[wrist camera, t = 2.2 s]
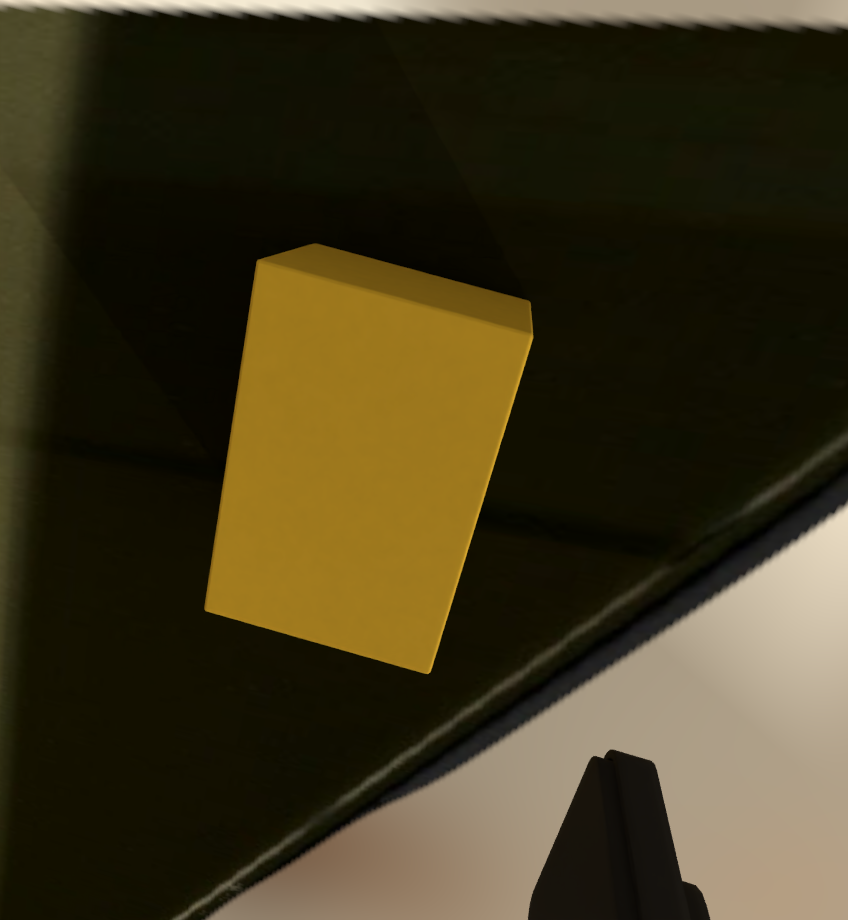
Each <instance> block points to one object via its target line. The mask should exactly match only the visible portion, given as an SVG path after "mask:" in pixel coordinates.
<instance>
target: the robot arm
mask: <svg viewBox="0 0 848 920" xmlns="http://www.w3.org/2000/svg"><path fill="white" fill-rule="evenodd" d="M528 920H710V917H709V913H708V909H707V905H706V903H705V900H704V897H703V894H702V892H701V891H700V890H699V889H698V888H697V886H696V885H693V884H690V883H687V882H684V881H682V878H681V874H680V870H679V865H678V861H677V857H676V852H675V848H674V843H673V839H672V835H671V830H670V826H669V822H668V817H667V813H666V808H665V804H664V800H663V795H662V791H661V787H660V782H659V778H658V774H657V770H656V767H655V764H654V763H653V762H652V761H650V760H646V759H643V758H639V757H636V756H633V755H629V754H626V753H623V752H619V751H616V750H609V751H608V752H607V753H606V755H605V757H604V759H603V758H600V757H597V756H593V757H592V758H591V759H590V761H589V763H588V765H587V768H586V770H585V772H584V775H583V777H582V779H581V782H580V784H579V786H578V788H577V791H576V793H575V795H574V798H573V800H572V803H571V805H570V807H569V809H568V812H567V815H566V817H565V819H564V821H563V823H562V826H561V828H560V831H559V833H558V835H557V837H556V840H555V842H554V844H553V847H552V849H551V851H550V854H549V856H548V858H547V861H546V863H545V865H544V868H543V870H542V872H541V875H540V877H539V879H538V882H537V884H536V886H535V889H534V891H533V894H532V898H531V902H530V908H529V915H528Z"/></svg>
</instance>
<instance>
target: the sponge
mask: <svg viewBox="0 0 848 920" xmlns="http://www.w3.org/2000/svg"><path fill="white" fill-rule="evenodd" d="M532 340H533V329H532V317H531V304H530V302H529V301H528V300H524V299H520V298H516V297H513V296H509V295H505V294H502V293H498V292H494V291H491V290H487V289H483V288H479V287H476V286H472V285H468V284H465V283H461V282H457V281H453V280H450V279H446V278H442V277H439V276H435V275H431V274H428V273H424V272H420V271H416V270H413V269H409V268H405V267H402V266H398V265H394V264H390V263H387V262H383V261H379V260H376V259H372V258H368V257H365V256H361V255H357V254H353V253H350V252H346V251H342V250H339V249H335V248H331V247H328V246H324V245H320V244H316V243H314V244H310V245H307V246H304V247H300V248H297V249H293V250H290V251H287V252H283V253H280V254H276V255H273V256H270V257H266V258H263V259H259V260H258V261H257V263H256V269H255V276H254V283H253V289H252V296H251V303H250V309H249V316H248V322H247V329H246V336H245V342H244V349H243V356H242V362H241V369H240V376H239V382H238V389H237V395H236V402H235V409H234V415H233V422H232V429H231V435H230V442H229V449H228V455H227V462H226V468H225V475H224V482H223V488H222V495H221V502H220V508H219V515H218V521H217V528H216V535H215V541H214V548H213V555H212V561H211V568H210V575H209V581H208V588H207V594H206V601H205V610H206V611H208V612H211V613H215V614H218V615H222V616H225V617H229V618H232V619H236V620H239V621H243V622H246V623H250V624H253V625H257V626H260V627H264V628H267V629H271V630H274V631H278V632H281V633H285V634H288V635H292V636H295V637H299V638H302V639H306V640H309V641H313V642H316V643H320V644H323V645H327V646H330V647H334V648H337V649H341V650H344V651H348V652H351V653H355V654H358V655H362V656H365V657H369V658H372V659H376V660H379V661H383V662H386V663H390V664H393V665H397V666H400V667H404V668H408V669H411V670H415V671H418V672H422V673H425V674H429V673H430V672H431V669H432V665H433V662H434V659H435V656H436V652H437V649H438V646H439V643H440V639H441V636H442V633H443V630H444V626H445V623H446V620H447V617H448V613H449V610H450V607H451V603H452V600H453V597H454V594H455V590H456V587H457V584H458V581H459V577H460V574H461V571H462V568H463V564H464V561H465V558H466V555H467V551H468V548H469V545H470V542H471V538H472V535H473V532H474V529H475V525H476V522H477V519H478V516H479V512H480V509H481V506H482V503H483V499H484V496H485V493H486V489H487V486H488V483H489V480H490V476H491V473H492V470H493V467H494V463H495V460H496V457H497V454H498V450H499V447H500V444H501V441H502V437H503V434H504V431H505V428H506V424H507V421H508V418H509V415H510V411H511V408H512V405H513V402H514V398H515V395H516V392H517V389H518V385H519V382H520V379H521V375H522V372H523V369H524V366H525V362H526V359H527V356H528V353H529V349H530V346H531V343H532Z"/></svg>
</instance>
